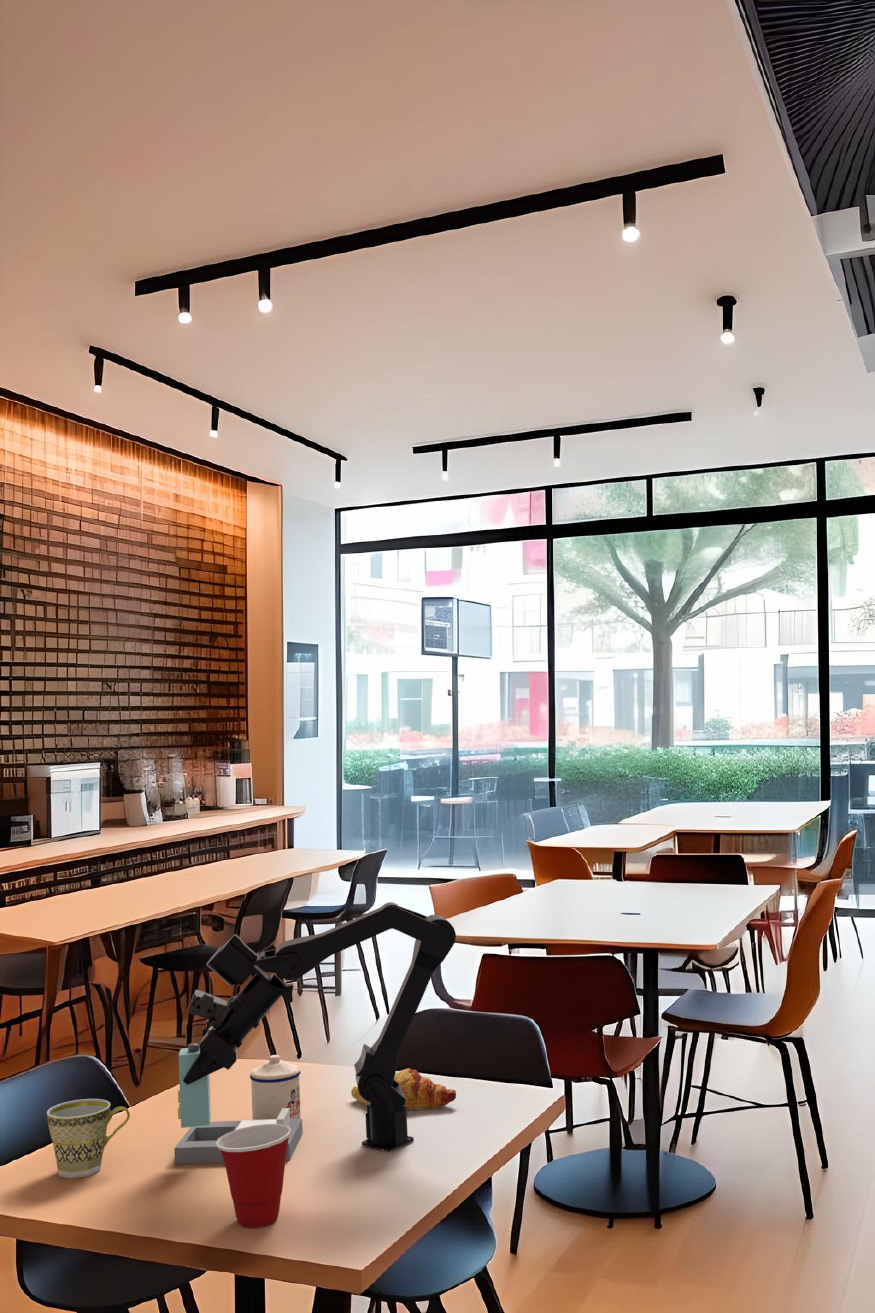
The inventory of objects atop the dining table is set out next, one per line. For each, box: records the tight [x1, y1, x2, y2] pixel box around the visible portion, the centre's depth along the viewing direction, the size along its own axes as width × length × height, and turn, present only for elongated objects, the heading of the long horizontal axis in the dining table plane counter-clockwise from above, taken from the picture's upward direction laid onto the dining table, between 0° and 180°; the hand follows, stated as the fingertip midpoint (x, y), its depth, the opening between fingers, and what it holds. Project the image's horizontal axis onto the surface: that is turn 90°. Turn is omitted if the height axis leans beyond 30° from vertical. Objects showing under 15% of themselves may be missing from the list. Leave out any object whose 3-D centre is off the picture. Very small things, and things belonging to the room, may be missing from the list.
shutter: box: [236, 1108, 290, 1130], centre depth 193 cm, size 8×8×3 cm
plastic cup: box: [216, 1124, 292, 1229], centre depth 162 cm, size 11×11×12 cm
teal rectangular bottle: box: [177, 1042, 212, 1129], centre depth 188 cm, size 5×4×12 cm
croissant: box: [350, 1068, 457, 1112], centre depth 213 cm, size 21×10×8 cm, turn 71°
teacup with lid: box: [249, 1054, 302, 1120], centre depth 207 cm, size 12×9×12 cm
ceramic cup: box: [46, 1098, 130, 1179], centre depth 186 cm, size 13×10×10 cm
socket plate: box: [174, 1118, 304, 1165], centre depth 192 cm, size 19×13×2 cm
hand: (186, 1078), depth 188 cm, fingers closed on teal rectangular bottle, 4 cm apart
